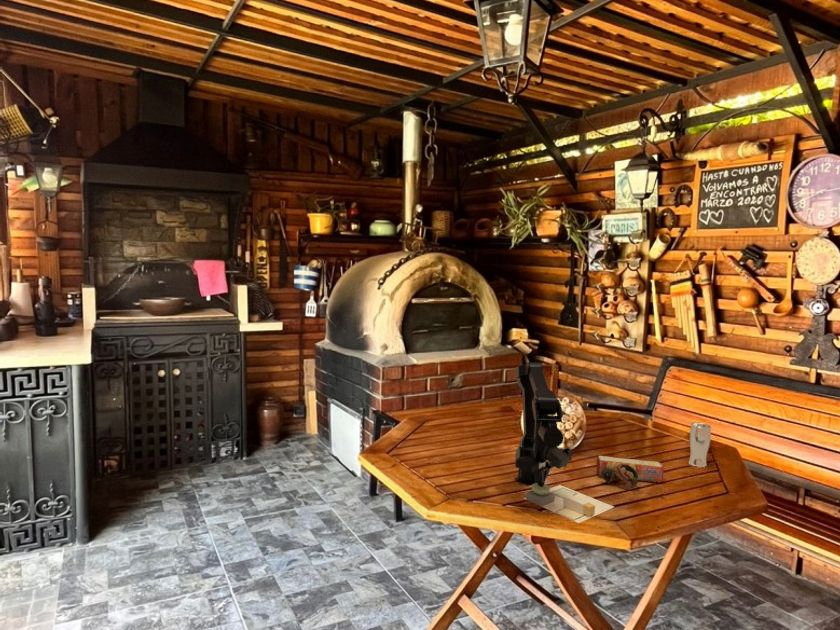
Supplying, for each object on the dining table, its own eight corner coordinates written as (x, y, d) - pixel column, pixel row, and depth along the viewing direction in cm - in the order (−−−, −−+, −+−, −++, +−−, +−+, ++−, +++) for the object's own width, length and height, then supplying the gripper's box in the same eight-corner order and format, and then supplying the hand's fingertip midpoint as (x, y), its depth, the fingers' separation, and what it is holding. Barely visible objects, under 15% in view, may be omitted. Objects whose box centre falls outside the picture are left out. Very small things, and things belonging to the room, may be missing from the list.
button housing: (525, 501, 178) (526, 491, 178) (538, 496, 182) (539, 487, 182) (541, 508, 174) (542, 498, 173) (554, 503, 177) (554, 493, 177)
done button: (527, 499, 178) (528, 485, 178) (538, 495, 181) (539, 481, 181) (541, 505, 174) (542, 491, 174) (552, 501, 177) (553, 487, 177)
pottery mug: (622, 479, 200) (635, 463, 196) (632, 502, 192) (645, 485, 188) (591, 472, 197) (604, 455, 193) (600, 494, 189) (613, 478, 185)
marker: (562, 505, 174) (563, 496, 174) (568, 503, 176) (569, 493, 176) (588, 517, 167) (589, 507, 167) (594, 514, 169) (595, 504, 169)
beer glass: (684, 464, 215) (687, 424, 214) (690, 459, 221) (694, 421, 219) (704, 469, 211) (708, 429, 209) (710, 464, 216) (714, 425, 214)
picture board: (523, 500, 179) (523, 498, 179) (559, 486, 190) (559, 484, 190) (578, 525, 164) (578, 522, 164) (614, 508, 175) (614, 506, 175)
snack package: (658, 477, 202) (660, 458, 201) (663, 485, 195) (665, 465, 195) (595, 471, 206) (596, 453, 205) (597, 478, 199) (599, 459, 198)
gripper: (545, 450, 163) (542, 503, 165) (585, 438, 175) (581, 488, 177) (515, 439, 172) (512, 490, 174) (554, 428, 184) (551, 476, 186)
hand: (540, 486), depth 177 cm, fingers closed, pressing on done button
